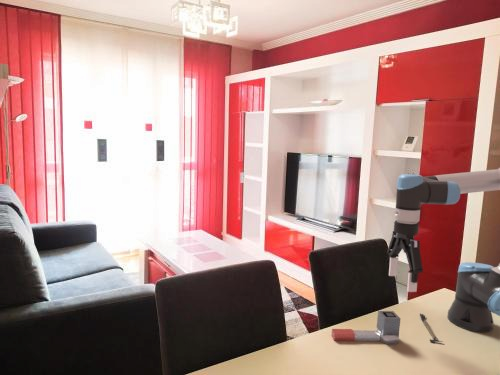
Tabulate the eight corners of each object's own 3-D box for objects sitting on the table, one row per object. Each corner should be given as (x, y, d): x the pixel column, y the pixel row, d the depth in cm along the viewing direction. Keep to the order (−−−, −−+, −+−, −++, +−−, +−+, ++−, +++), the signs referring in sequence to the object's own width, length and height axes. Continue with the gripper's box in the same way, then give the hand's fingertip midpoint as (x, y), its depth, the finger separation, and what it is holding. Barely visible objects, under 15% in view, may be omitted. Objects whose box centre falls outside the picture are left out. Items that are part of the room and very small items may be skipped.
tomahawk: (451, 349, 125) (452, 346, 125) (430, 344, 127) (431, 341, 127) (435, 319, 146) (436, 316, 145) (417, 315, 147) (418, 312, 147)
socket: (391, 327, 130) (393, 311, 129) (398, 335, 125) (400, 318, 124) (376, 327, 130) (378, 310, 129) (382, 335, 124) (384, 318, 124)
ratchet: (392, 333, 131) (395, 310, 130) (401, 344, 124) (404, 319, 123) (329, 332, 130) (331, 308, 129) (335, 343, 123) (337, 318, 122)
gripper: (380, 213, 135) (376, 270, 138) (414, 230, 110) (409, 299, 113) (400, 213, 136) (395, 269, 138) (439, 230, 111) (432, 298, 114)
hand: (401, 283), depth 126 cm, fingers open, 13 cm apart
